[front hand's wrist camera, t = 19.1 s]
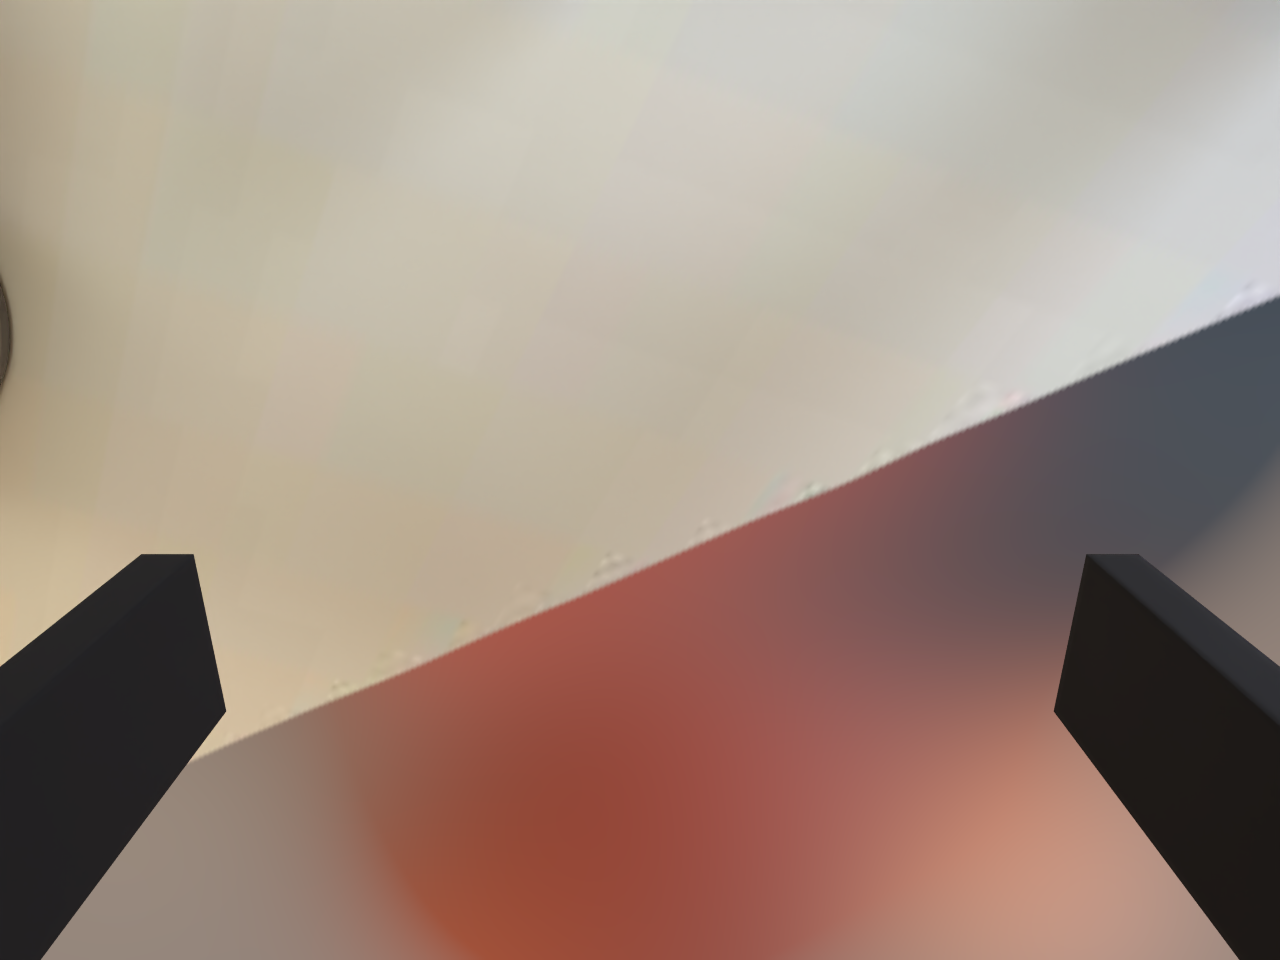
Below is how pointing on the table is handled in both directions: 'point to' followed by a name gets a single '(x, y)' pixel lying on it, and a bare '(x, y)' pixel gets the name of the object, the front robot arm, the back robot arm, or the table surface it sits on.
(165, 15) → the table surface
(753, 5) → the table surface
